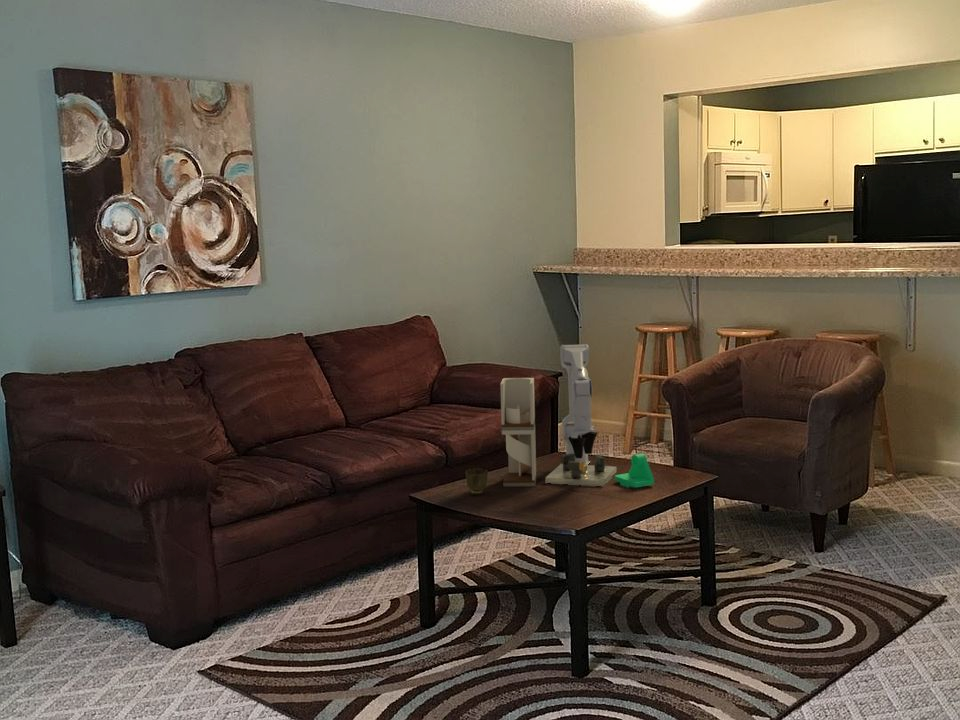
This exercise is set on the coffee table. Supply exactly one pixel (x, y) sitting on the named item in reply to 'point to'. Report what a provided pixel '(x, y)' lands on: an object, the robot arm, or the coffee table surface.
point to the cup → (476, 480)
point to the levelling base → (590, 474)
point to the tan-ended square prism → (576, 468)
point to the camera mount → (637, 473)
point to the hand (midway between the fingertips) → (583, 455)
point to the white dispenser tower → (519, 430)
